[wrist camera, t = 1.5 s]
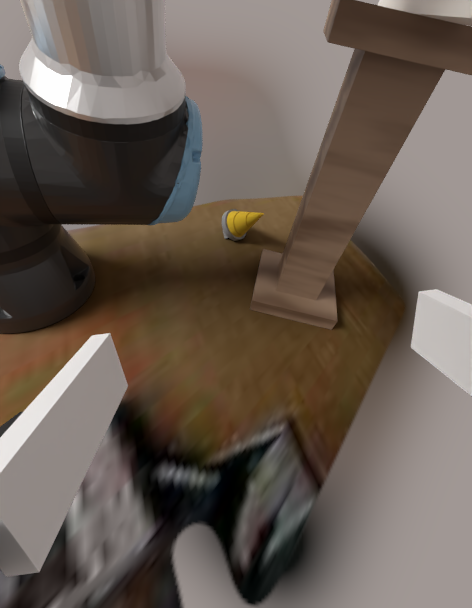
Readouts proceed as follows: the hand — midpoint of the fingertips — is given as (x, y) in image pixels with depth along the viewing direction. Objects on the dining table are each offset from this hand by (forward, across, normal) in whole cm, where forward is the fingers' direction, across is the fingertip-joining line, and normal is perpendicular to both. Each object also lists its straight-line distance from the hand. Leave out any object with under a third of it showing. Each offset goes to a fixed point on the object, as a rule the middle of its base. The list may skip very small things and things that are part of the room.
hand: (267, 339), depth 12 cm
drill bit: (+41, +1, -2) cm, 41 cm away
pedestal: (+30, +8, -9) cm, 32 cm away
